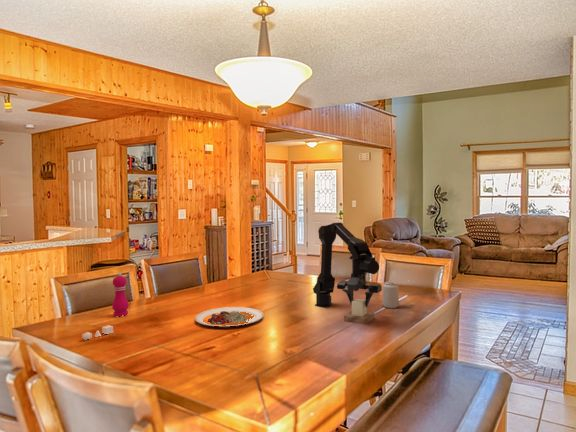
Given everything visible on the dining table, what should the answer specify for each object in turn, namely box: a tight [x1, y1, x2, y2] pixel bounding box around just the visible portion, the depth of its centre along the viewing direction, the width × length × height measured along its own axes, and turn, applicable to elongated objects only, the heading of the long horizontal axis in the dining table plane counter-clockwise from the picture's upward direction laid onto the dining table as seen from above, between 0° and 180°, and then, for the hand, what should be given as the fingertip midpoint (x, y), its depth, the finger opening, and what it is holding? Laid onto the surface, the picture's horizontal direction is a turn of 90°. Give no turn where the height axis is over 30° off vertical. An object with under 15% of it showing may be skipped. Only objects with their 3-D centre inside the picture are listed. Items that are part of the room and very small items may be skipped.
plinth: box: [343, 310, 375, 325], centre depth 196 cm, size 10×10×3 cm
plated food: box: [194, 306, 264, 328], centre depth 201 cm, size 30×30×3 cm
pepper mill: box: [111, 272, 130, 317], centre depth 209 cm, size 7×7×20 cm
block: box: [351, 298, 368, 317], centre depth 196 cm, size 5×5×6 cm
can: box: [382, 280, 400, 309], centre depth 216 cm, size 8×8×12 cm
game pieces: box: [81, 324, 114, 341], centre depth 179 cm, size 12×3×3 cm, turn 144°
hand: (359, 306), depth 196 cm, fingers open, 6 cm apart
